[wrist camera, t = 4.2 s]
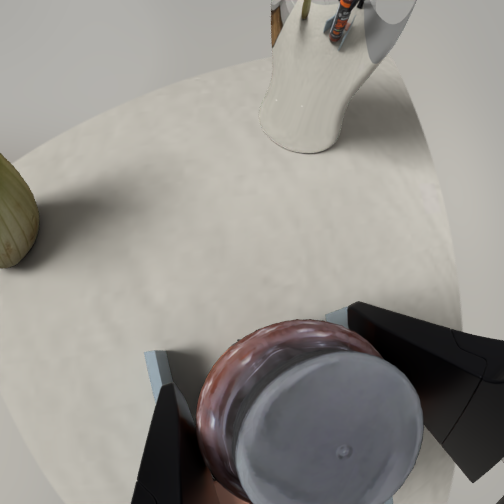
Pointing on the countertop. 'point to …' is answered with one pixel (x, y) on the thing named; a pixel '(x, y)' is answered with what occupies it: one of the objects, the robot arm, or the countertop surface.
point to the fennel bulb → (15, 216)
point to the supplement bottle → (308, 418)
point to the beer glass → (324, 64)
